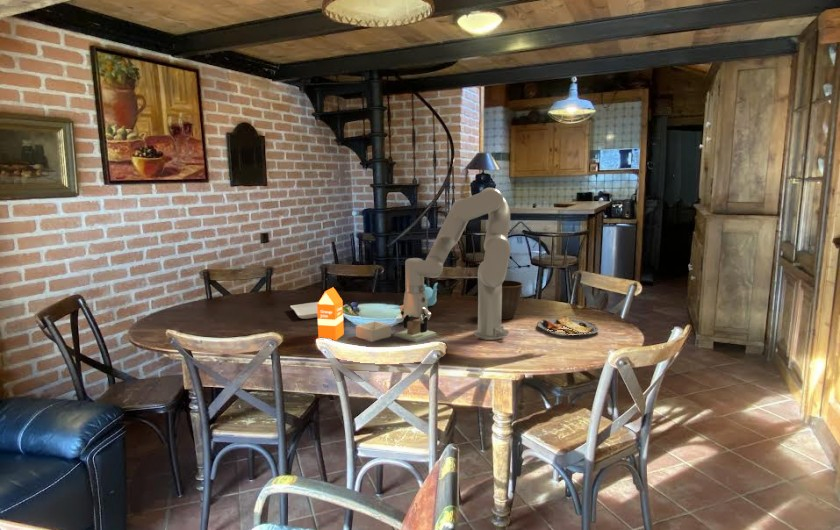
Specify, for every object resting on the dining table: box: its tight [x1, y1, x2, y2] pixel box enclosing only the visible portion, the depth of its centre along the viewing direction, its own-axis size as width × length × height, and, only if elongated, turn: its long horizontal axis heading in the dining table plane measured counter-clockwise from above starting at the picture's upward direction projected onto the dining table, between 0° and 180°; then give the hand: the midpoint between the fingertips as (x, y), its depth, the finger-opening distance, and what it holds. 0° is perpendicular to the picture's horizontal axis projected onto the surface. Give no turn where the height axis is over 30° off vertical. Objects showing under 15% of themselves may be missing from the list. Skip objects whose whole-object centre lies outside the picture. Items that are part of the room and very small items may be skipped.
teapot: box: [424, 282, 439, 307], centre depth 267 cm, size 15×15×10 cm
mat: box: [391, 333, 439, 343], centre depth 214 cm, size 14×14×1 cm
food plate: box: [536, 315, 600, 337], centre depth 221 cm, size 25×23×4 cm
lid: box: [394, 318, 437, 341], centre depth 214 cm, size 12×12×6 cm
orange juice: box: [317, 286, 345, 341], centre depth 213 cm, size 8×9×20 cm
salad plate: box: [290, 301, 319, 320], centre depth 251 cm, size 21×21×3 cm
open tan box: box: [355, 320, 392, 343], centre depth 212 cm, size 10×10×5 cm
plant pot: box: [501, 279, 523, 320], centre depth 240 cm, size 15×15×16 cm
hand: (415, 329), depth 214 cm, fingers open, 9 cm apart
